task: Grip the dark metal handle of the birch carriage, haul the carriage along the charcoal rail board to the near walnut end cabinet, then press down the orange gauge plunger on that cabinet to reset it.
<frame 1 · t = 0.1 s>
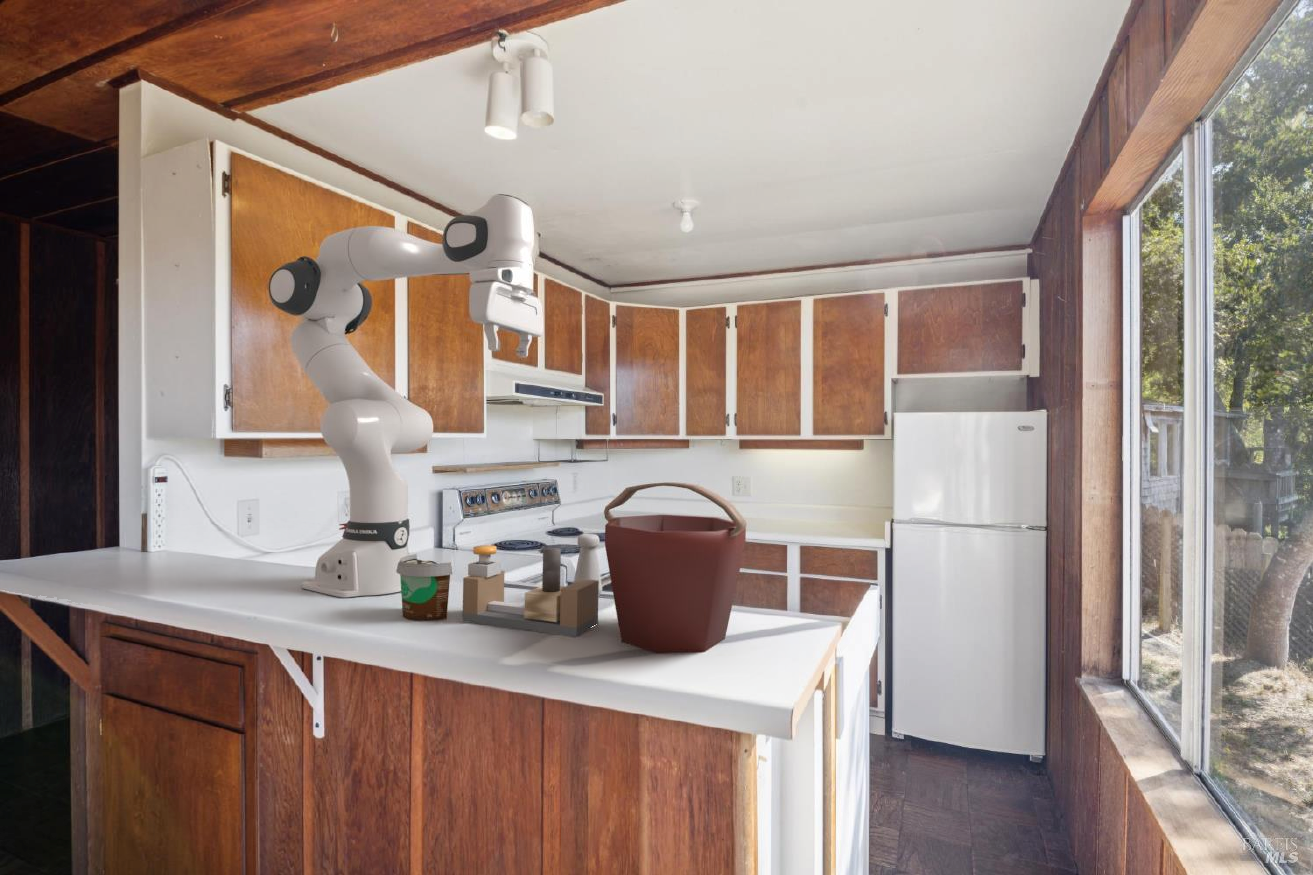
hand: (508, 353, 125), 48 cm above the worktop, fingers open, 8 cm apart
food container: (416, 618, 114), on the worktop
rail board: (530, 622, 112), on the worktop
carriage: (551, 581, 111), point 7 cm above the worktop, slide at 4.0 cm
gauge plunger: (484, 555, 115), point 11 cm above the worktop, slide at 0.0 cm
salt shaker: (587, 601, 128), on the worktop
bucket: (672, 637, 106), on the worktop
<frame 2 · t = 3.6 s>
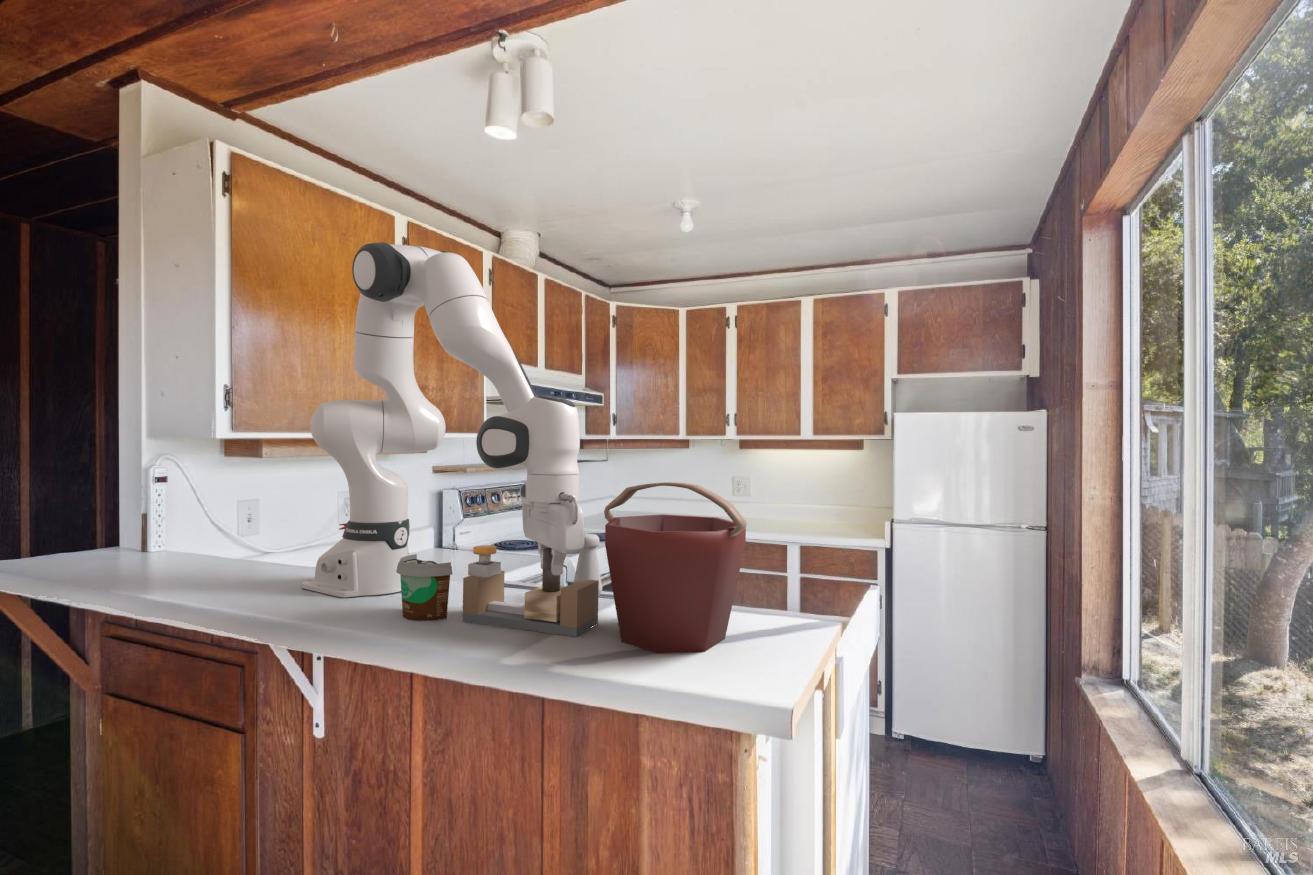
hand: (551, 571, 111), 9 cm above the worktop, fingers closed on carriage, 3 cm apart
carriage: (551, 581, 111), point 7 cm above the worktop, slide at 4.0 cm, touching gripper
everything else where it was.
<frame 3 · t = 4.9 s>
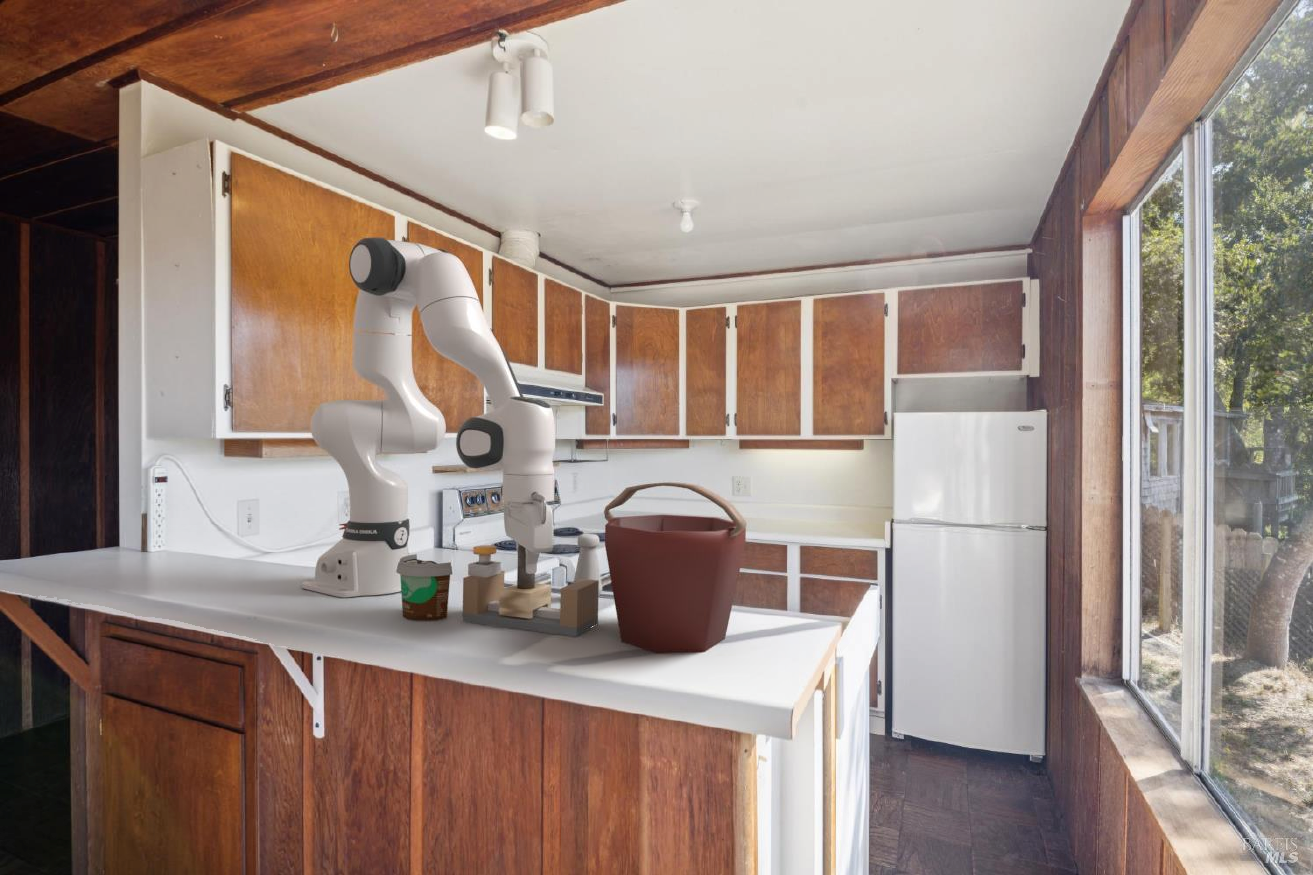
hand: (527, 570, 113), 9 cm above the worktop, fingers closed on carriage, 3 cm apart
carriage: (526, 579, 113), point 7 cm above the worktop, slide at -1.0 cm, touching gripper
everything else where it was.
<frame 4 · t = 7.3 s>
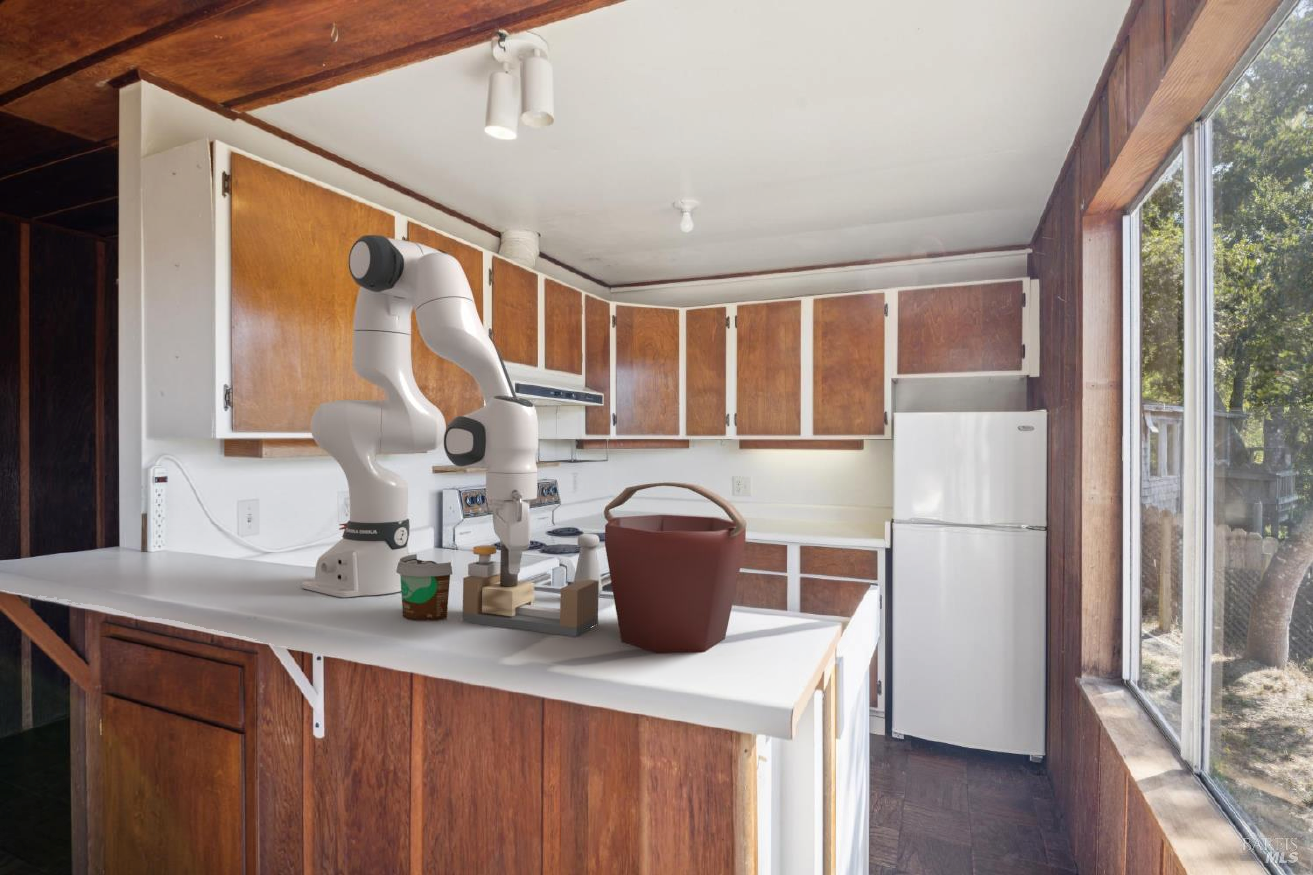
hand: (510, 567, 114), 9 cm above the worktop, fingers open, 8 cm apart
carriage: (508, 577, 114), point 7 cm above the worktop, slide at -4.4 cm
everything else where it was.
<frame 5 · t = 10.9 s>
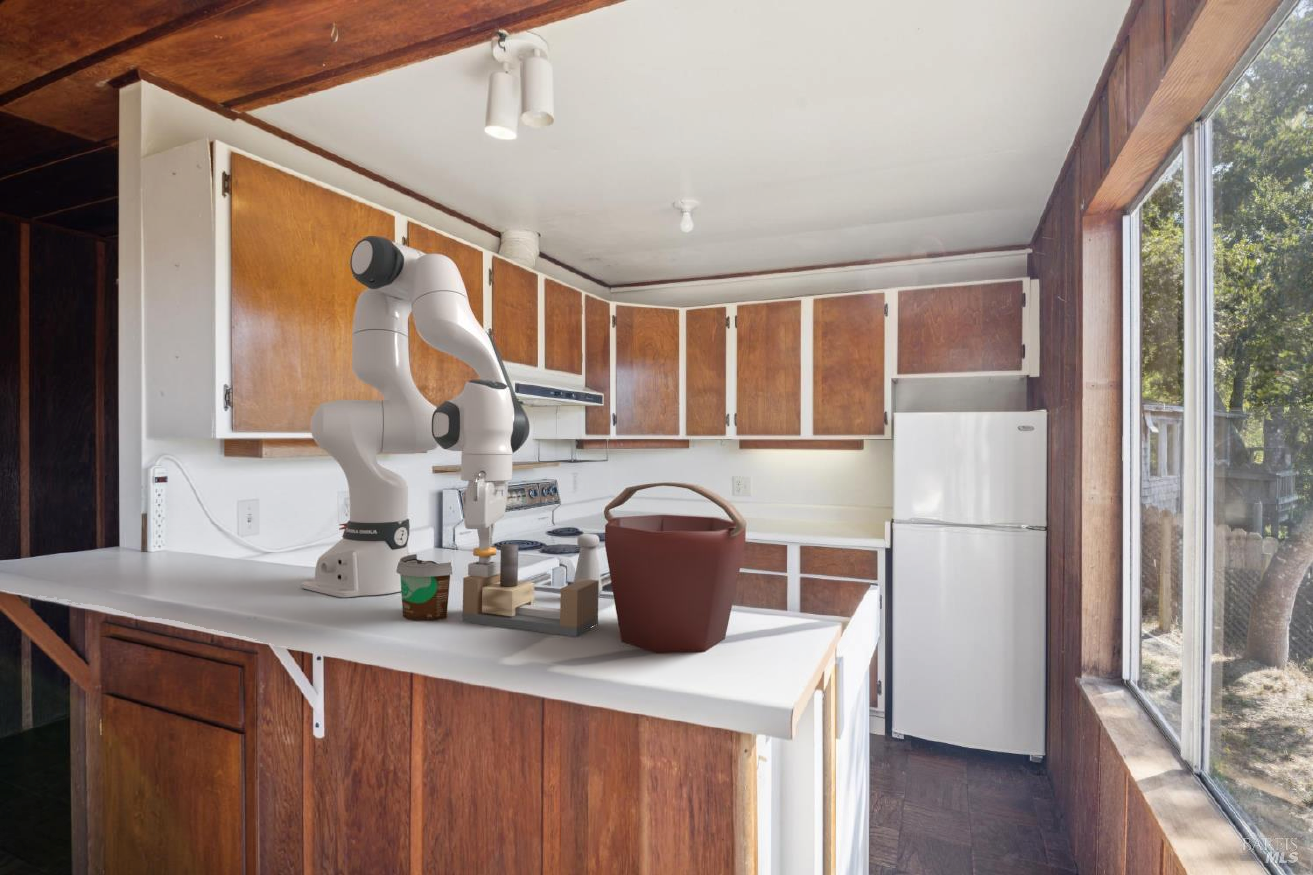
hand: (485, 548, 115), 12 cm above the worktop, fingers closed
gauge plunger: (484, 557, 115), point 11 cm above the worktop, slide at 0.3 cm, touching gripper
everything else where it was.
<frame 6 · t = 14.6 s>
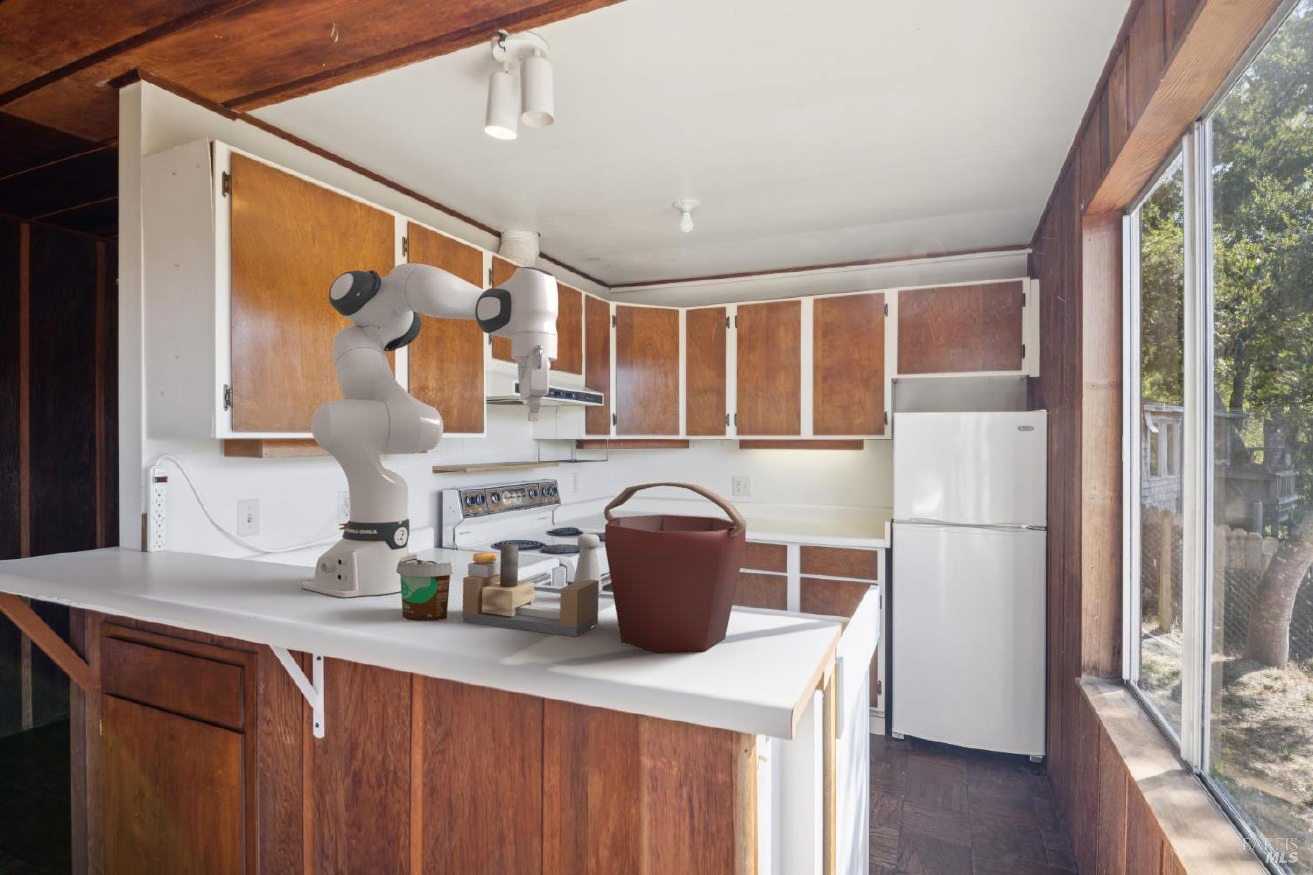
hand: (533, 421, 127), 35 cm above the worktop, fingers closed
gauge plunger: (484, 562, 115), point 10 cm above the worktop, slide at 1.3 cm
everything else where it was.
at the end: carriage slide at -4.4 cm; gauge plunger slide at 1.3 cm; the gripper is holding nothing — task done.
